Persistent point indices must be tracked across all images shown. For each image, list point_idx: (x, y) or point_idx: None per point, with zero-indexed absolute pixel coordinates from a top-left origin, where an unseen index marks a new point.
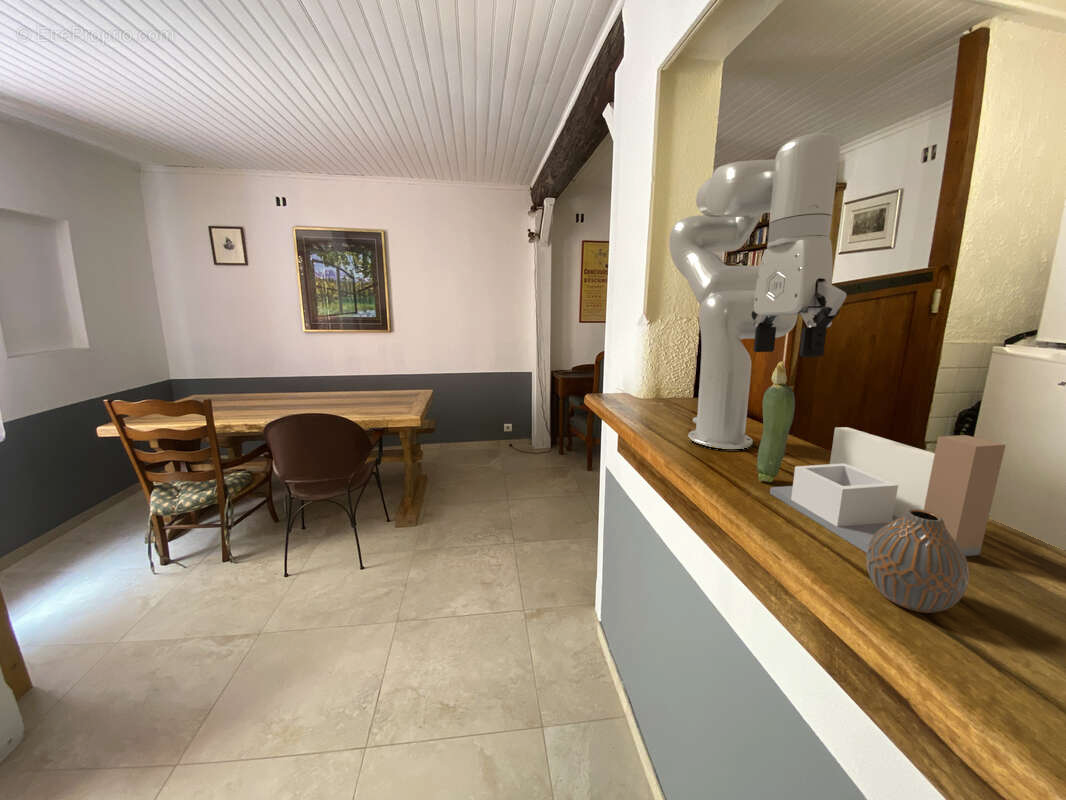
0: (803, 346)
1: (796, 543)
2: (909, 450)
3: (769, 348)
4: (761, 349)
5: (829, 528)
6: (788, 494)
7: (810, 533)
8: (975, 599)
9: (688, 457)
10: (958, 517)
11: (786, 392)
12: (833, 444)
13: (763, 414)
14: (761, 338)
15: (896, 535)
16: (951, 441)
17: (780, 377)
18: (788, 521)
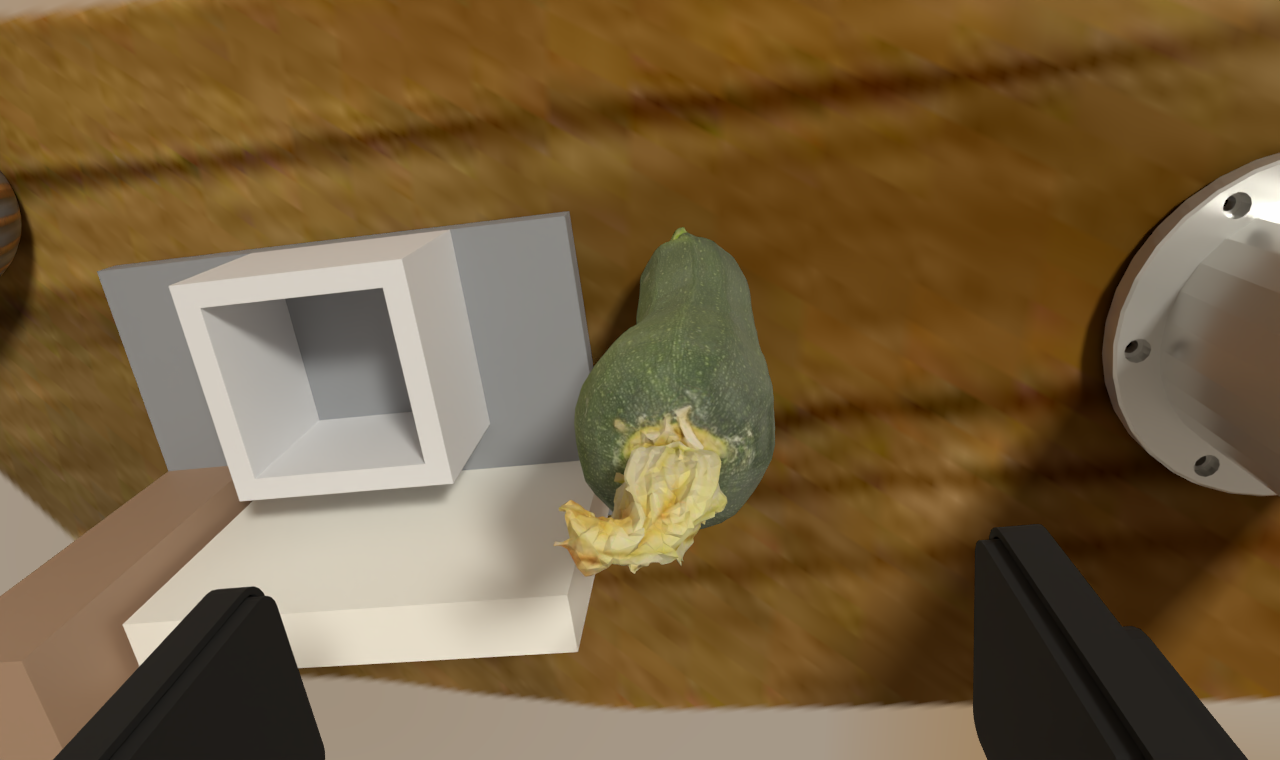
0: (156, 648)
1: (185, 76)
2: None
3: (987, 699)
4: (979, 595)
5: (287, 246)
6: (495, 247)
7: (259, 167)
8: (7, 356)
9: (1065, 19)
10: (112, 517)
11: (587, 458)
12: None
13: (710, 319)
14: (1044, 690)
15: None
16: None
17: (625, 485)
18: (336, 143)
